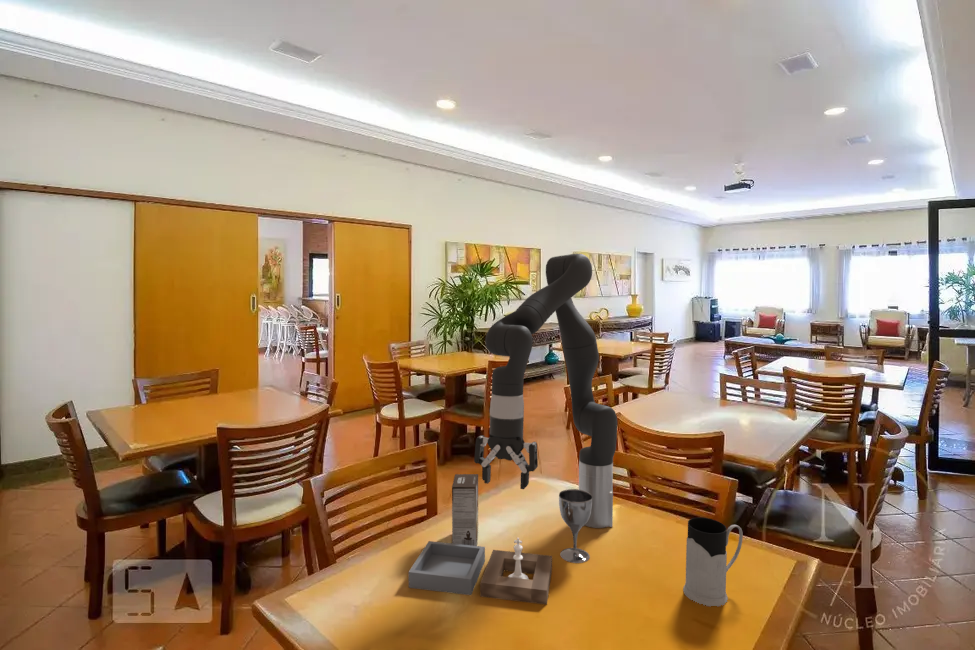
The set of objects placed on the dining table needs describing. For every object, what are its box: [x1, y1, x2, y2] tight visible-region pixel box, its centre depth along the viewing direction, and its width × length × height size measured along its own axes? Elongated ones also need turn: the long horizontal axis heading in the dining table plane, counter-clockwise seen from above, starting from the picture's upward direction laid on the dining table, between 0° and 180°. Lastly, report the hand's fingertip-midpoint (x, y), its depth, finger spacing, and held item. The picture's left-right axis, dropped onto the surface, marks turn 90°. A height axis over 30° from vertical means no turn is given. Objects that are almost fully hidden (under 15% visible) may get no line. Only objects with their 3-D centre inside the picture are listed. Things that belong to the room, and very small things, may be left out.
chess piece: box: [507, 537, 530, 580], centre depth 111 cm, size 5×5×10 cm
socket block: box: [479, 549, 553, 605], centre depth 111 cm, size 14×14×3 cm
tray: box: [408, 540, 486, 596], centre depth 115 cm, size 14×14×4 cm
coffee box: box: [451, 473, 479, 546], centre depth 130 cm, size 9×6×16 cm
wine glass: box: [558, 488, 592, 564], centre depth 122 cm, size 8×8×15 cm
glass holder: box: [683, 517, 744, 607], centre depth 108 cm, size 9×14×15 cm, turn 111°
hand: (505, 485), depth 113 cm, fingers open, 8 cm apart
